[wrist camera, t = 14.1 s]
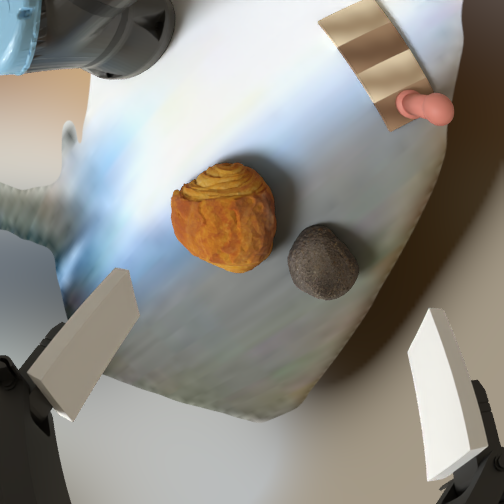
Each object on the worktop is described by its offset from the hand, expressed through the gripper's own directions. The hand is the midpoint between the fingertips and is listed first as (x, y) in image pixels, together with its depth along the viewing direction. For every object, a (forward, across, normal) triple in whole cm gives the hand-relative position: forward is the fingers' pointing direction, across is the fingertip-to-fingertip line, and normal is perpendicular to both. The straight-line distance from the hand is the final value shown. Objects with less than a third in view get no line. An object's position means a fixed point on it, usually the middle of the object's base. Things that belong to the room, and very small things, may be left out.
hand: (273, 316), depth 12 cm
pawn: (+28, +13, +10) cm, 32 cm away
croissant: (+29, -10, -8) cm, 32 cm away
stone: (+29, +5, -13) cm, 32 cm away
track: (+29, +9, +14) cm, 33 cm away
